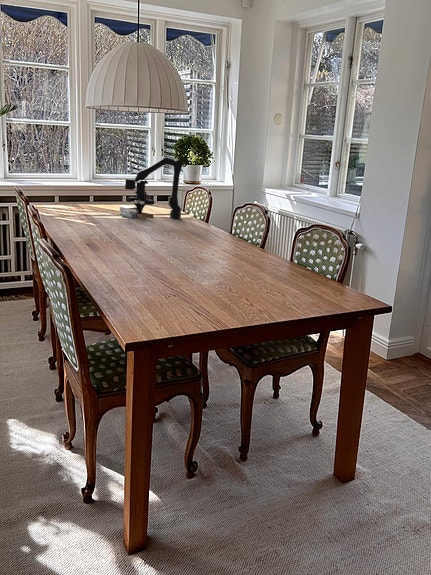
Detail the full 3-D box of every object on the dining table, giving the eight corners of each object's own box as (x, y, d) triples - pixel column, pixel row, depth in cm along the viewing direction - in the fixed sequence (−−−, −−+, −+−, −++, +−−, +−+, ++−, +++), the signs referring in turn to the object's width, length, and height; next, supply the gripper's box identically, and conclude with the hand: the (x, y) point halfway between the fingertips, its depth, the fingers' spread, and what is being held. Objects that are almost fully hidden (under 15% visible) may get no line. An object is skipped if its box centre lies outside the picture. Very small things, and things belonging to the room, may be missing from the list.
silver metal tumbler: (139, 216, 355) (140, 208, 355) (134, 216, 351) (135, 207, 350) (124, 213, 361) (125, 205, 360) (119, 213, 356) (120, 205, 355)
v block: (137, 218, 348) (137, 213, 348) (131, 219, 343) (131, 214, 343) (127, 216, 352) (127, 212, 351) (121, 217, 347) (121, 213, 346)
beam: (153, 218, 353) (153, 214, 352) (145, 220, 345) (145, 215, 344) (127, 213, 363) (127, 209, 362) (118, 215, 355) (118, 210, 354)
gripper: (159, 191, 350) (158, 214, 354) (136, 188, 358) (136, 210, 362) (149, 192, 340) (148, 216, 345) (126, 189, 348) (126, 212, 353)
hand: (140, 213), depth 351 cm, fingers closed
